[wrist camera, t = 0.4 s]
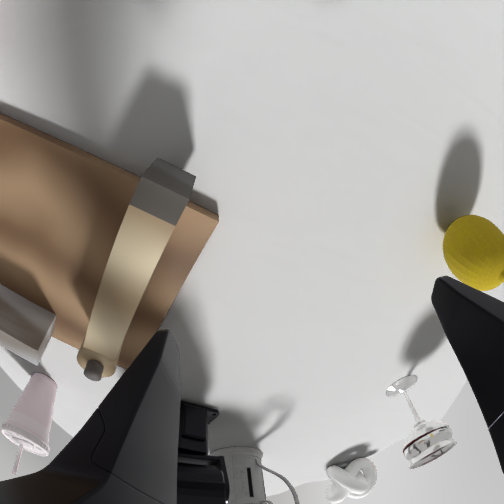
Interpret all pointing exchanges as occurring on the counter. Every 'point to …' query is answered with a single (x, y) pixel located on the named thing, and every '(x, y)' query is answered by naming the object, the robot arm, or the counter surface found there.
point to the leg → (134, 260)
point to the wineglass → (422, 430)
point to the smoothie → (32, 418)
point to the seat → (74, 245)
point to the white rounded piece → (351, 480)
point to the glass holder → (247, 475)
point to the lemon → (475, 252)
